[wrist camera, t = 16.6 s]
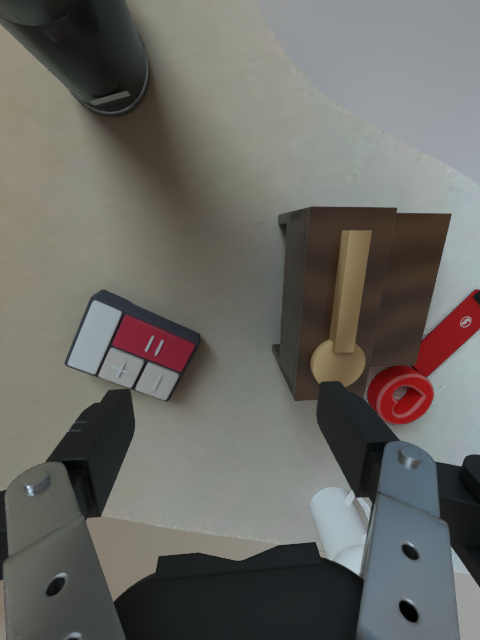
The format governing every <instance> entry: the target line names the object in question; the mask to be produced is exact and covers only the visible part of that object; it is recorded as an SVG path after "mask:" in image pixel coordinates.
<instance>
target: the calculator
mask: <svg viewBox="0 0 480 640" xmlns="http://www.w3.org/2000/svg"><path fill="white" fill-rule="evenodd" d="M199 343H200V335H199V334H198V333H196V332H194V331H192V330H190V329H187V328H185V327H183V326H181V325H178V324H176V323H174V322H172V321H169V320H167V319H165V318H163V317H160V316H158V315H156V314H154V313H151V312H149V311H147V310H145V309H142V308H140V307H138V306H136V305H134V304H132V303H131V302H129V301H128V300H126V299H124V298H122V297H119V296H117V295H115V294H113V293H110V292H108V291H106V290H101V291H99V292H98V293H96V294H95V295H93V296H92V297H91V298H90V301H89V303H88V306H87V308H86V311H85V313H84V316H83V318H82V320H81V323H80V325H79V328H78V330H77V333H76V335H75V338H74V340H73V343H72V345H71V348H70V350H69V353H68V355H67V358H66V360H65V365H66V366H68V367H71V368H74V369H76V370H79V371H82V372H85V373H88V374H90V375H93V376H96V377H99V378H102V379H104V380H107V381H110V382H113V383H116V384H118V385H121V386H124V387H127V388H130V389H133V390H135V391H138V392H141V393H144V394H147V395H149V396H152V397H155V398H158V399H161V400H163V401H169V399H170V398H171V396H172V394H173V392H174V390H175V388H176V387H177V385H178V383H179V381H180V379H181V377H182V376H183V374H184V372H185V370H186V368H187V366H188V364H189V363H190V361H191V359H192V357H193V355H194V353H195V351H196V350H197V348H198V346H199Z"/></svg>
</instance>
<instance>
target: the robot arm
mask: <svg viewBox="0 0 480 640" xmlns="http://www.w3.org/2000/svg"><path fill="white" fill-rule="evenodd" d="M0 24H1V25H2V26H3V27H4V28H5V29H6V30H7V31H8V32H9V33H10V34H11V35H12V36H13V37H14V38H15V39H16V40H18V41H19V42H20V43H21V44H22V45H23V46H24V47H25V48H26V49H27V50H28V51H29V52H30V53H31V54H32V55H33V56H34V57H35V58H36V59H37V60H38V61H39V62H41V63H42V64H43V65H44V66H45V67H46V68H47V69H48V70H49V71H50V72H51V73H52V74H53V75H54V76H55V77H56V78H57V79H58V80H59V81H60V82H61V83H62V84H63V85H65V86H66V87H67V88H68V89H69V90H70V92H71V93H72V94H73V95H74V96H75V97H76V98H77V99H78V100H79V101H80V102H81V103H82V104H83V105H85V106H86V107H87V108H89V109H90V110H92V111H94V112H96V113H99V114H102V115H106V116H119V115H123V114H126V113H128V112H130V111H132V110H133V109H134V108H135V107H136V106H137V105H138V104H139V103H140V102H141V100H142V99H143V97H144V95H145V93H146V90H147V87H148V83H149V62H148V57H147V53H146V50H145V47H144V45H143V42H142V40H141V38H140V35H139V34H138V32H137V30H136V27H135V24H134V22H133V19H132V17H131V14H130V12H129V9H128V7H127V4H126V2H125V0H0ZM316 415H317V422H318V425H319V428H320V430H321V432H322V433H323V435H324V437H325V439H326V441H327V443H328V445H329V447H330V449H331V451H332V453H333V454H334V456H335V458H336V460H337V462H338V464H339V466H340V468H341V470H342V472H343V474H344V475H345V477H346V479H347V481H348V483H349V485H350V487H351V489H352V491H353V493H354V495H355V496H356V498H363V497H369V498H370V500H371V502H372V506H371V511H370V517H369V522H368V528H367V534H366V540H365V545H364V551H363V557H362V562H361V568H360V573H359V576H358V575H357V574H356V573H354V572H353V571H351V570H350V569H348V568H346V567H345V566H343V565H341V564H339V563H337V562H335V561H332V560H329V559H326V558H322V557H320V555H319V551H318V548H317V545H316V542H311V543H300V544H289V545H278V546H276V547H274V548H271V549H269V550H266V551H264V552H262V553H259V554H257V555H254V556H252V557H250V558H247V559H245V560H242V561H235V560H230V559H225V558H221V557H216V556H211V555H207V554H202V553H190V554H179V555H168V556H159V557H158V563H157V568H156V573H153V574H151V575H149V576H147V577H145V578H143V579H141V580H140V581H138V582H137V583H135V584H134V585H132V586H131V587H130V588H128V589H127V590H126V591H125V592H124V593H122V594H121V595H120V596H119V597H118V598H117V599H116V600H115V601H114V602H113V600H112V597H111V594H110V591H109V588H108V586H107V582H106V580H105V577H104V574H103V571H102V568H101V565H100V562H99V559H98V556H97V553H96V551H95V547H94V545H93V542H92V539H91V536H90V533H89V530H88V527H87V524H86V520H87V518H91V517H101V515H102V512H103V510H104V507H105V505H106V502H107V500H108V497H109V495H110V492H111V490H112V487H113V485H114V482H115V480H116V478H117V475H118V473H119V470H120V468H121V465H122V463H123V460H124V458H125V455H126V453H127V450H128V448H129V445H130V443H131V440H132V438H133V435H134V430H135V418H134V411H133V404H132V397H131V392H130V390H129V389H116V390H108V392H107V393H106V394H105V396H104V397H103V399H102V400H101V402H100V403H94V404H92V405H91V406H90V407H88V408H87V409H85V410H84V411H83V412H82V413H81V414H80V416H79V417H78V418H77V420H76V421H75V424H73V425H72V427H71V428H70V429H69V432H67V433H66V435H65V436H64V437H63V439H62V440H61V441H60V443H59V444H58V446H57V447H56V448H55V450H54V451H53V452H52V454H51V455H50V456H49V458H48V459H47V460H46V462H45V463H42V464H39V465H36V466H34V467H32V468H30V469H28V470H26V471H25V472H23V473H22V474H20V475H19V476H18V477H17V478H15V479H14V480H13V481H12V482H11V484H10V485H9V486H8V488H7V490H4V491H0V580H3V582H4V603H5V621H6V640H460V634H459V624H458V616H457V606H456V605H457V604H456V595H455V584H454V574H453V565H452V555H451V546H452V548H453V549H454V551H455V552H456V554H457V555H458V556H459V558H460V559H461V561H462V562H463V564H464V565H465V567H466V568H467V570H468V571H469V572H470V574H471V575H472V577H473V578H474V580H475V581H476V582H477V584H478V585H479V587H480V455H469V456H467V457H465V459H464V461H463V464H462V467H460V466H455V465H450V464H445V463H440V462H435V461H434V460H433V458H432V457H431V456H430V455H429V454H428V453H427V452H425V451H424V450H423V449H421V448H419V447H418V446H416V445H413V444H411V443H408V442H404V441H400V440H399V439H398V437H397V436H396V435H395V434H394V433H393V432H392V431H391V429H390V428H389V427H388V426H387V425H386V424H385V423H384V421H383V420H382V419H381V418H380V417H379V416H378V415H377V413H376V412H375V411H374V410H373V409H371V407H370V405H369V404H368V403H367V402H366V401H365V400H364V399H363V398H361V397H360V396H358V395H357V394H355V393H354V392H348V390H347V389H346V388H345V387H344V385H343V384H342V383H341V382H340V381H323V382H321V383H320V386H319V394H318V403H317V412H316Z"/></svg>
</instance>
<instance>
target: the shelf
mask: <svg viewBox="0 0 480 640" xmlns="http://www.w3.org/2000/svg"><path fill="white" fill-rule="evenodd" d="M396 212H397V208H384V207H308V208H304V209H300V210H296V211H292V212H288V213H284V214H280V215H279V217H278V224H287V232H286V249H285V267H284V284H283V302H282V319H281V336H280V344H273V345H272V352H273V354H274V356H275V358H276V361H277V363H278V365H279V367H280V369H281V372H282V374H283V376H284V378H285V380H286V382H287V385H288V387H289V389H290V391H291V393H292V395H293V397H294V400H295V401H302V400H318V394H319V386H320V384H319V383H318V382H317V381H316V379H315V378H314V376H313V374H312V372H311V369H310V360H311V356H312V354H313V352H314V351H315V349H316V348H317V347H318V346H319V345H320V344H321V343H323V342H324V341H326V340H328V339H329V337H330V328H331V320H332V311H333V303H334V294H335V286H336V277H337V269H338V260H339V252H340V243H341V235H342V231H372V234H371V241H370V247H369V254H368V260H367V267H366V274H365V280H364V287H363V293H362V300H361V307H360V313H359V320H358V327H357V333H356V340H355V343H356V344H357V345H358V346H359V347H360V348H361V349H362V350H363V352H364V355H365V367H364V370H363V372H362V374H361V375H360V377H359V378H358V379H357V380H356V381H355V382H354V383H352V384H351V385H349V386H347V387H345V388H346V389H347V390H348V392H354V393H355V394H357V395H358V396H360V397H361V398H363V397H364V393H365V387H366V381H367V376H368V370H369V367H373V366H400V365H416V362H417V357H418V353H419V349H420V345H421V341H422V336H423V332H424V328H425V324H426V320H427V315H428V311H429V307H430V303H431V299H432V294H433V290H434V286H435V282H436V278H437V273H438V269H439V265H440V261H441V257H442V252H443V248H444V244H445V240H446V236H447V231H448V227H449V223H450V219H451V215H452V214H436V213H396Z"/></svg>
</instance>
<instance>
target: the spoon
mask: <svg viewBox="0 0 480 640" xmlns="http://www.w3.org/2000/svg"><path fill="white" fill-rule="evenodd" d="M371 234H372V231H342V235H341V243H340V252H339V260H338V269H337V277H336V286H335V294H334V303H333V311H332V320H331V328H330V337H329V339H328V340H326V341H324V342H323V343H321V344H320V345H319V346H318V347H317V348H316V349H315V351H314V352H313V354H312V356H311V360H310V369H311V372H312V374H313V376H314V378H315V379H316V381H317V382H318V383H319V384H320V383H321V382H323V381H340V382H341V383H342V384H343V385H344V387H347V386H349V385H351V384H352V383H354V382H355V381H356V380H357V379H358V378H359V377H360V375H361V374H362V372H363V370H364V367H365V355H364V352H363V350H362V349H361V348H360V347H359V346H358V345H357V344H356V343H355V340H356V333H357V327H358V320H359V313H360V307H361V300H362V293H363V287H364V280H365V274H366V267H367V260H368V254H369V247H370V241H371Z"/></svg>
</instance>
